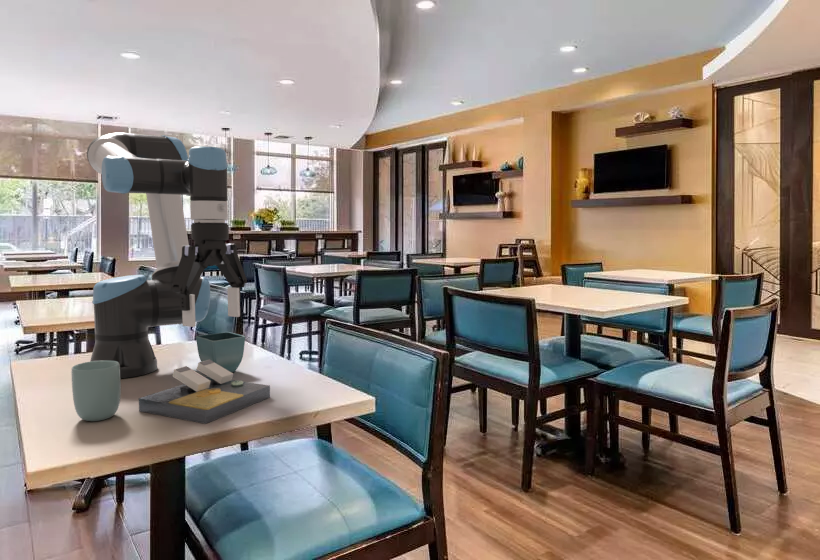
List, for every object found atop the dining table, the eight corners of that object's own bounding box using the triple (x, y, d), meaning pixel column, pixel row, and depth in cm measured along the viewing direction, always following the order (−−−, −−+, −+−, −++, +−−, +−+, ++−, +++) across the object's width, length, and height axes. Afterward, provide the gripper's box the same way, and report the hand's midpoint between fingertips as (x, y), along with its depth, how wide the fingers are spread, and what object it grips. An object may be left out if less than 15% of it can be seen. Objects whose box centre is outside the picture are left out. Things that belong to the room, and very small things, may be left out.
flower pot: (247, 371, 142) (246, 335, 141) (213, 378, 136) (212, 340, 135) (228, 366, 148) (227, 331, 147) (196, 372, 142) (194, 336, 141)
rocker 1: (172, 376, 117) (174, 368, 117) (184, 372, 120) (186, 365, 120) (196, 391, 115) (198, 384, 114) (208, 387, 118) (210, 380, 117)
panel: (139, 411, 112) (138, 394, 111) (208, 387, 128) (207, 373, 127) (206, 423, 104) (206, 406, 104) (271, 397, 120) (270, 381, 120)
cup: (86, 411, 111) (83, 360, 110) (128, 410, 112) (126, 359, 111) (66, 425, 104) (62, 370, 103) (111, 424, 104) (108, 369, 103)
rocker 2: (196, 369, 123) (198, 362, 123) (207, 366, 126) (209, 358, 126) (220, 383, 121) (222, 376, 120) (231, 380, 124) (233, 373, 123)
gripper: (178, 221, 110) (182, 332, 112) (261, 221, 132) (263, 313, 134) (148, 221, 113) (153, 329, 115) (235, 221, 135) (237, 311, 137)
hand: (212, 321), depth 125 cm, fingers open, 13 cm apart
